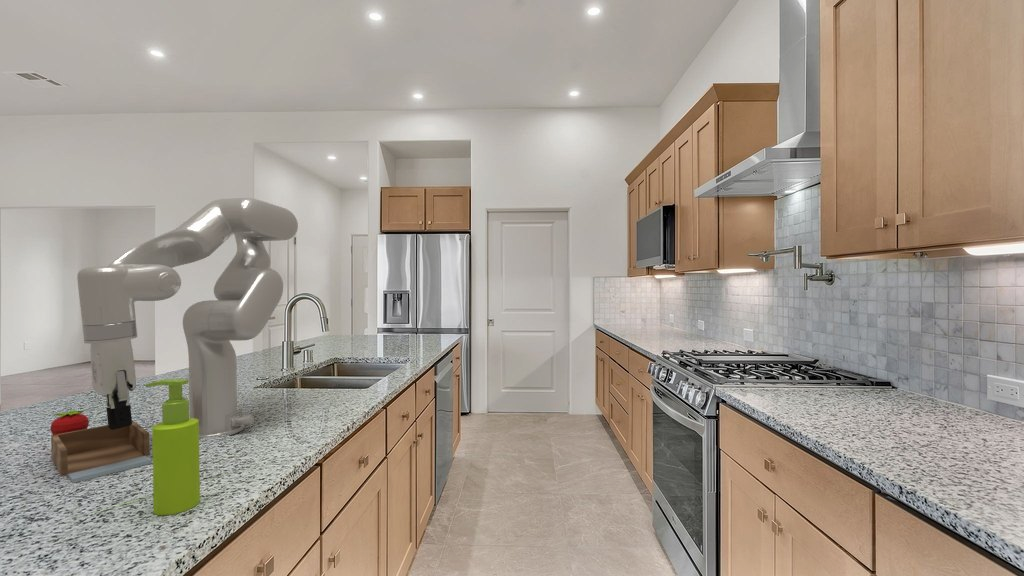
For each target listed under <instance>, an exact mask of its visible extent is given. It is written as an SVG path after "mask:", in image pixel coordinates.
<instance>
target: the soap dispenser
mask: <svg viewBox="0 0 1024 576" xmlns="http://www.w3.org/2000/svg"><path fill="white" fill-rule="evenodd" d="M188 384H189V379H187V378H186V379H184V378H166V379H161V380H156V381H153V382H150V383H147V384H144V386H145V387H146V388H150V387H155V386H157V387H158V386H168V398H167V399H166V400H165V401H163V402H162V403H161V407H162V408H161V412H162V414H161V417H162V421H161V422H159V423H157V424H155V425H152V428H151V430H152V431H151V434H152V435H151V436H152V437H151V438H152V439H151V440H152V492H153V493H152V495H153V499H152V501H153V505H152V506H153V514H154V515H156V516H171V515H176V514H180V513H183V512H185V511H189V510H190V509H193V508H195V507H196V506H197V505H199V503H200V501H201V487H200V485H201V483H200V482H201V481H200V477H201V476H200V474H201V473H200V470H201V469H200V438H199V420H198V419H195V418H190V412H189V399H188V398H186V397H183V386H184V385H188Z"/></svg>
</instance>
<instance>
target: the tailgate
mask: <svg viewBox="0 0 1024 576" xmlns="http://www.w3.org/2000/svg"><path fill="white" fill-rule="evenodd" d="M150 464H151V465H152V464H153V458H150V457H149V456H146V455H145V456H141V457H137V458H133V459H128V460H124V461H120V462H116V463H112V464H107V465H103V466H99V467H95V468H90V469H86V470H82V471H78V472H74V473H69V474H67V477H68V478H69V480H70V482H71V483H72V484H75V483H79V482H83V481H86V480H91V479H95V478H99V477H103V476H107V475H111V474H114V473H118V472H123V471H126V470H131V469H135V468H138V467H142V466H147V465H150Z"/></svg>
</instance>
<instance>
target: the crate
mask: <svg viewBox="0 0 1024 576" xmlns="http://www.w3.org/2000/svg"><path fill="white" fill-rule="evenodd" d="M50 440H51V442H50V443H51V447H50V448H51V449H50V450H51V451H50V452H51V460H52V462H53V464H54V466H55V468H56V470H57V471H58V473H59V475H60V476H61V477H66V476H67V474H69V473H74V472H78V471H82V470H86V469H90V468H95V467H99V466H103V465H107V464H112V463H116V462H120V461H124V460H128V459H133V458H137V457H141V456H145V455H146V456H147V457H149V456H150V455H151V454H150V432H149V431H147V430H146V429H145V428H144V427H142V426H141V425H139V424H138V423H137V422H135V421H134V420H132V424H131V425H130V426H126V427H122V428H118V429H114V430H111V429H110V428H109V427H108V424H106V425H100V426H95V427H88V428H87V429H83V430H78V431H72V432H67V433H62V434H56V435H51V436H50Z"/></svg>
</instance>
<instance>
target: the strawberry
mask: <svg viewBox="0 0 1024 576" xmlns="http://www.w3.org/2000/svg"><path fill="white" fill-rule="evenodd" d="M64 405H65V406H66V407H67V408H70V411H68V412H61V413H60V412H58V413H54V414H52V416H59V417H57V418H55V419H53V421H52V422H51V424H50V429H49V430H50V432H51V434H52V435H56V434H62V433H67V432H72V431H78V430H83V429H89V423H90V421H89V418H88V416H86V415H85V414H83V413H84V412H86V410H77V411H76V409H72V407H70V406H69V405H67V404H65V403H64Z"/></svg>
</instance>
